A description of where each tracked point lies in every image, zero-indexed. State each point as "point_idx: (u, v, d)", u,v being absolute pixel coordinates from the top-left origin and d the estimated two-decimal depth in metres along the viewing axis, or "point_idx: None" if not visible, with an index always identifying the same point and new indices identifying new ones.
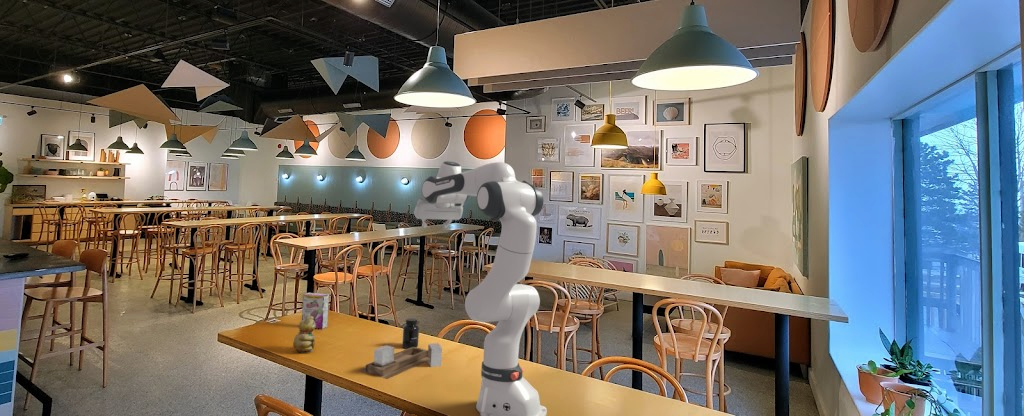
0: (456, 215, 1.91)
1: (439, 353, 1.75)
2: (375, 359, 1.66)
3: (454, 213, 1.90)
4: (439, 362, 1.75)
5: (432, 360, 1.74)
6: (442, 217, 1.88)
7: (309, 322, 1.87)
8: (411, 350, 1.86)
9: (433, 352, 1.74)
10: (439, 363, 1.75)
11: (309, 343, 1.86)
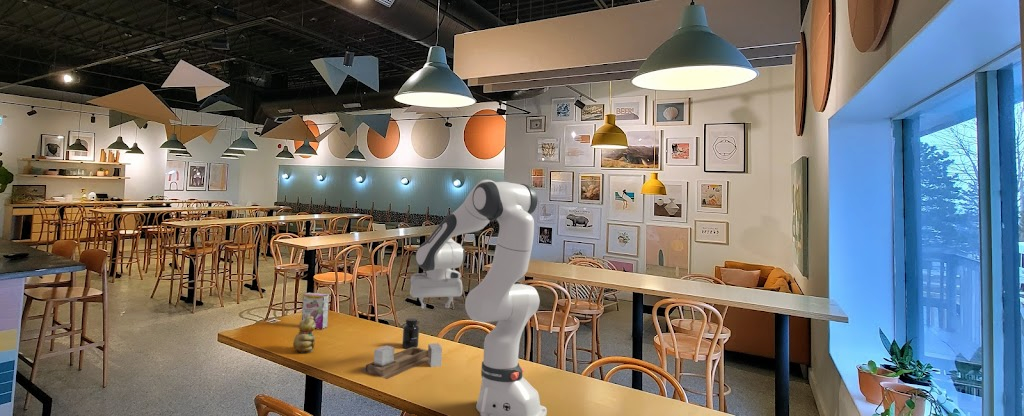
0: (456, 291, 1.79)
1: (439, 353, 1.75)
2: (375, 359, 1.66)
3: (453, 288, 1.79)
4: (439, 362, 1.75)
5: (432, 360, 1.74)
6: (440, 293, 1.77)
7: (309, 322, 1.87)
8: (411, 350, 1.86)
9: (433, 352, 1.74)
10: (439, 363, 1.75)
11: (309, 343, 1.86)
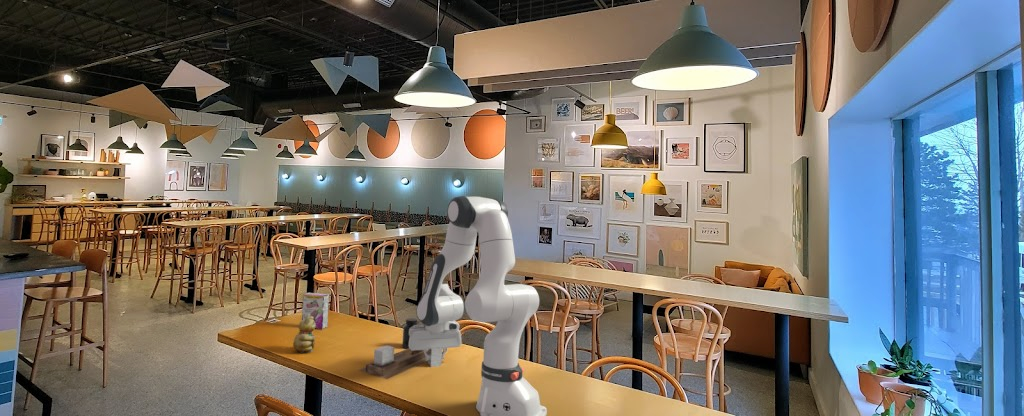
0: (455, 342, 1.78)
1: (439, 353, 1.75)
2: (375, 359, 1.66)
3: (452, 339, 1.78)
4: (439, 362, 1.75)
5: (432, 360, 1.74)
6: (439, 345, 1.76)
7: (309, 322, 1.87)
8: (411, 350, 1.86)
9: (433, 352, 1.74)
10: (439, 363, 1.75)
11: (309, 343, 1.86)
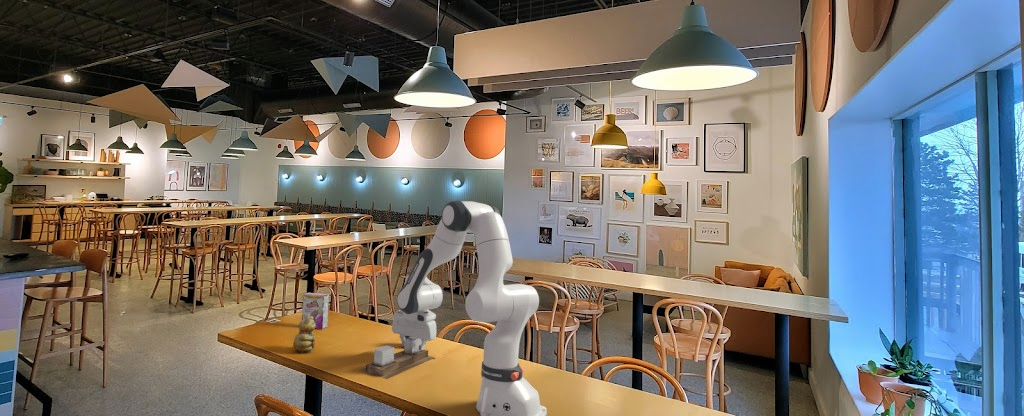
0: (425, 334, 1.77)
1: (410, 345, 1.79)
2: (375, 359, 1.66)
3: (423, 331, 1.78)
4: (410, 354, 1.79)
5: (405, 350, 1.80)
6: (412, 334, 1.80)
7: (309, 322, 1.87)
8: None
9: (405, 343, 1.80)
10: None
11: (309, 343, 1.86)
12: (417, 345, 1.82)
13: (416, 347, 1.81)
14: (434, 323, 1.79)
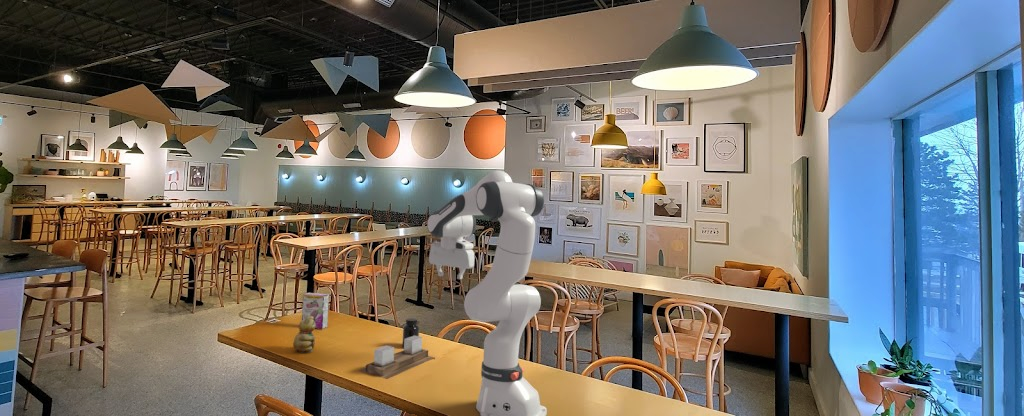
0: (463, 262, 1.79)
1: (410, 345, 1.79)
2: (375, 359, 1.66)
3: (461, 259, 1.79)
4: (410, 354, 1.79)
5: (405, 350, 1.80)
6: (450, 263, 1.82)
7: (309, 322, 1.87)
8: None
9: (405, 343, 1.80)
10: None
11: (309, 343, 1.86)
12: (417, 345, 1.82)
13: (416, 347, 1.81)
14: (472, 252, 1.81)
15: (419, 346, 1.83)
